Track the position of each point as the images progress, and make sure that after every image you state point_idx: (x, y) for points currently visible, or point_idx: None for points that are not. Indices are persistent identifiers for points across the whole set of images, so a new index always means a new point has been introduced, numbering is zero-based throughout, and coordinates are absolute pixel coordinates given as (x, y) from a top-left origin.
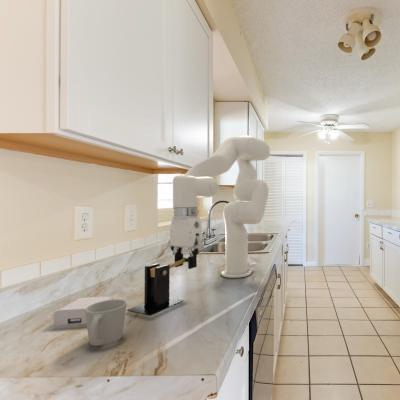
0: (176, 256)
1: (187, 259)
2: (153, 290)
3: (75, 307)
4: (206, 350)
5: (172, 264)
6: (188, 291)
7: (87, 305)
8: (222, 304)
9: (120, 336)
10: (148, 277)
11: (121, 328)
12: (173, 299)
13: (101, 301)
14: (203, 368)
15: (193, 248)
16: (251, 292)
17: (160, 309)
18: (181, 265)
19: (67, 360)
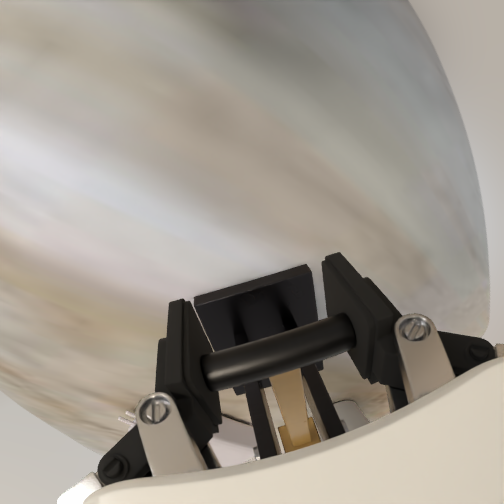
0: (221, 420)
1: (324, 357)
2: (261, 385)
3: (222, 467)
4: (473, 319)
5: (307, 421)
6: (173, 171)
7: (227, 460)
8: (419, 181)
9: (358, 407)
10: (278, 442)
11: (365, 417)
12: (270, 295)
13: (220, 449)
14: (479, 333)
15: (411, 399)
16: (420, 31)
17: None
18: (195, 313)
19: None
